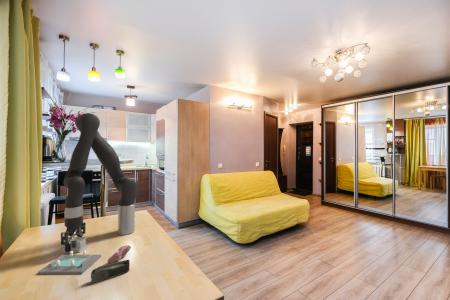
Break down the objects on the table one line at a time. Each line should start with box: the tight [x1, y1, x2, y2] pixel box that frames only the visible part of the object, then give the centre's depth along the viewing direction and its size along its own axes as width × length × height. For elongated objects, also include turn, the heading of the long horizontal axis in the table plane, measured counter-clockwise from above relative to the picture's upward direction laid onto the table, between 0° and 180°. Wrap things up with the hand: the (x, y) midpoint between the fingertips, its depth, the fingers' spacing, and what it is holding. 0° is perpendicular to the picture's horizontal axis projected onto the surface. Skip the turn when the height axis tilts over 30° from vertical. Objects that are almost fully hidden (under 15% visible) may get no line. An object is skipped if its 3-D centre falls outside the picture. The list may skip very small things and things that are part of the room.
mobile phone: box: [86, 259, 130, 285], centre depth 81 cm, size 5×3×15 cm
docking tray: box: [37, 250, 102, 275], centre depth 89 cm, size 13×18×4 cm
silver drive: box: [61, 236, 87, 254], centre depth 101 cm, size 4×9×6 cm, turn 91°
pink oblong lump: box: [107, 244, 132, 264], centre depth 94 cm, size 10×5×7 cm, turn 169°
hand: (73, 247), depth 101 cm, fingers open, 7 cm apart
